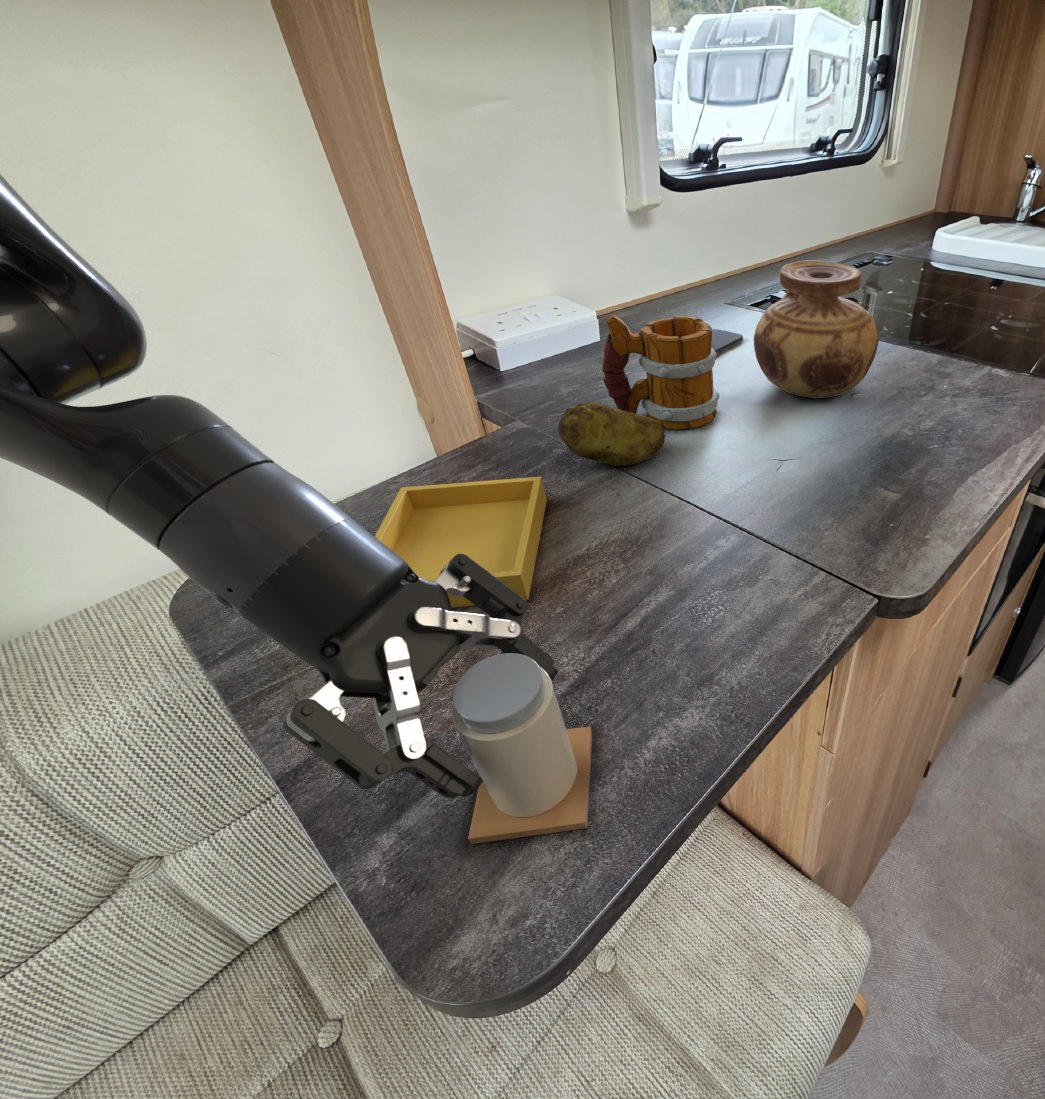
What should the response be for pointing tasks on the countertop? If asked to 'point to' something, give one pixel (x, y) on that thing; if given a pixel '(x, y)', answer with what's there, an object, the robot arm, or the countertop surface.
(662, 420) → the mug
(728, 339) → the phone
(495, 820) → the trivet
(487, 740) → the jar with grey lid
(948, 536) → the countertop surface
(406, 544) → the tray
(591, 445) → the potato
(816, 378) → the clay pot
